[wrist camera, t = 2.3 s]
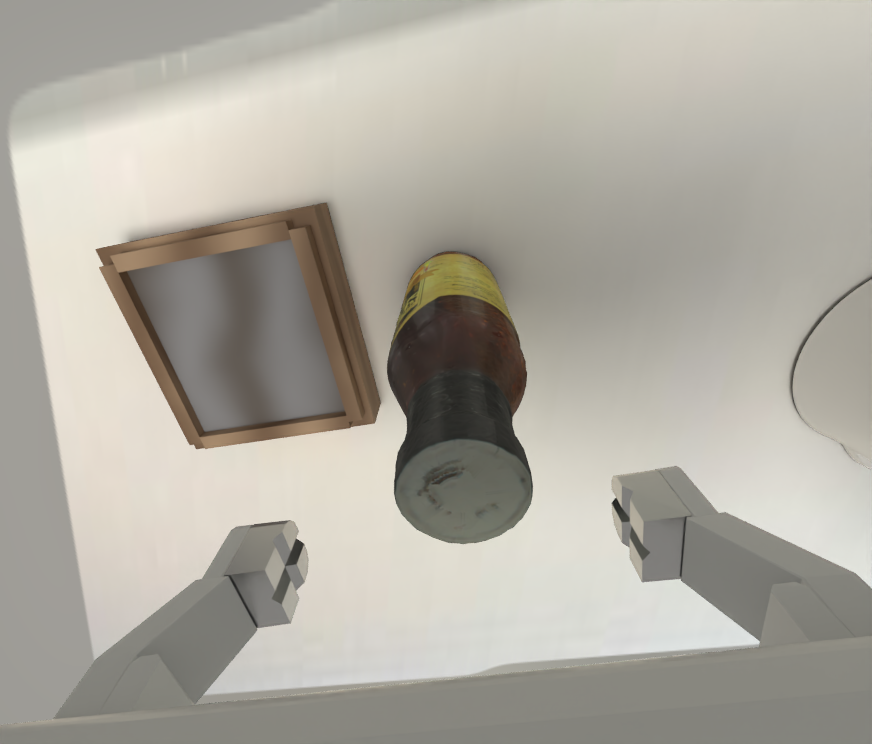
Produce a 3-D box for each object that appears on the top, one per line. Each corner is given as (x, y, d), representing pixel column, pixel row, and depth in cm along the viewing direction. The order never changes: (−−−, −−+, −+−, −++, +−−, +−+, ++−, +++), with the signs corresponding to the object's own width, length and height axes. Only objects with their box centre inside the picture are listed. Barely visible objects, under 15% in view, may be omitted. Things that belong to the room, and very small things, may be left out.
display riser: (326, 202, 27) (308, 207, 24) (380, 403, 34) (372, 430, 30) (128, 242, 29) (82, 251, 25) (215, 427, 35) (189, 457, 31)
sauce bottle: (404, 251, 29) (329, 383, 11) (497, 245, 28) (584, 373, 10) (412, 342, 31) (364, 569, 13) (497, 338, 31) (565, 566, 13)
